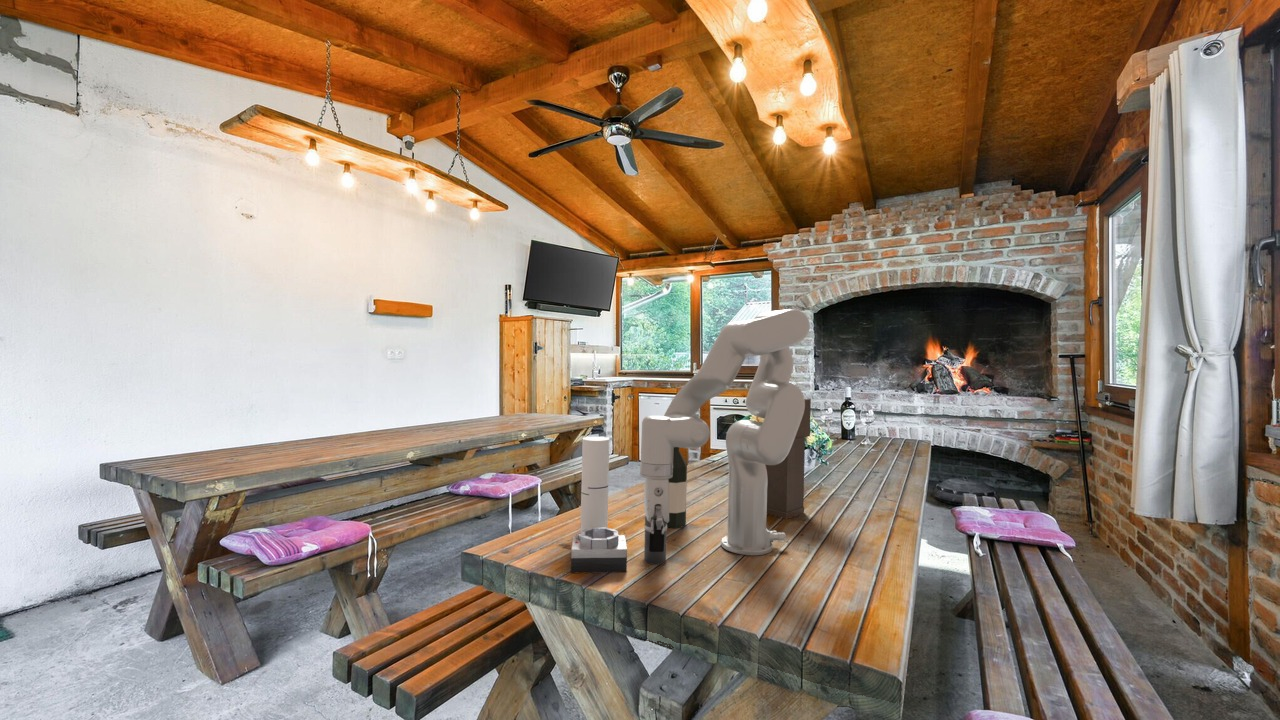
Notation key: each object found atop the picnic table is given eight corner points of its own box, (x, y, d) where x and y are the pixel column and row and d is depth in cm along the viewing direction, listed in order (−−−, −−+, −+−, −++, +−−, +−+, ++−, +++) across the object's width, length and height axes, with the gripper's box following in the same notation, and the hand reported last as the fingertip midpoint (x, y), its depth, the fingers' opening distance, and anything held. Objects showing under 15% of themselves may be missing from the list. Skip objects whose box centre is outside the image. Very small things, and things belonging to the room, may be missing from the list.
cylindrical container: (603, 538, 136) (605, 441, 136) (576, 535, 138) (578, 439, 138) (610, 529, 143) (612, 437, 143) (585, 527, 145) (587, 436, 145)
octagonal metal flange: (624, 556, 124) (624, 526, 124) (626, 572, 115) (627, 540, 115) (572, 557, 123) (573, 527, 123) (571, 572, 114) (571, 540, 114)
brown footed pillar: (810, 510, 166) (812, 399, 166) (786, 519, 156) (789, 401, 156) (758, 498, 180) (760, 395, 180) (733, 505, 170) (735, 396, 170)
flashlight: (664, 556, 125) (665, 513, 125) (667, 564, 120) (668, 519, 120) (642, 556, 124) (643, 513, 124) (644, 564, 119) (645, 520, 119)
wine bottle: (691, 522, 151) (693, 417, 151) (677, 530, 144) (680, 420, 144) (666, 517, 155) (668, 415, 155) (651, 524, 148) (653, 417, 148)
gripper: (678, 478, 114) (675, 557, 114) (667, 462, 131) (664, 531, 131) (644, 477, 113) (641, 557, 113) (637, 462, 130) (634, 531, 130)
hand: (653, 543), depth 122 cm, fingers open, 9 cm apart
